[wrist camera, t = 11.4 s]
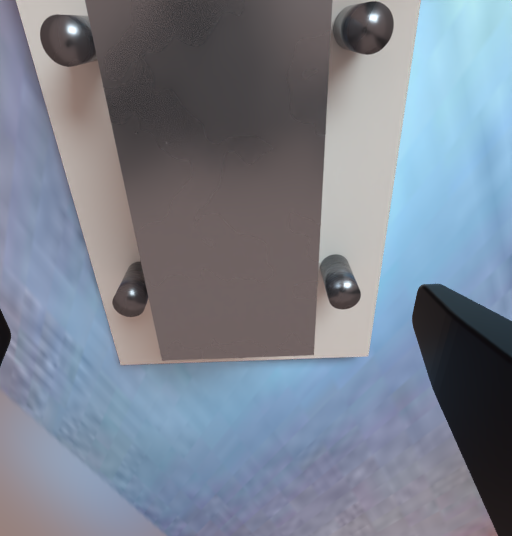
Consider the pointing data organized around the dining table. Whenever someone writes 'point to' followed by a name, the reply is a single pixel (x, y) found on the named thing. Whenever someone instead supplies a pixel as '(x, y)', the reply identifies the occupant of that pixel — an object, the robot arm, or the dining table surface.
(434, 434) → the dining table surface
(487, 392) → the robot arm
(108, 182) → the white peg board
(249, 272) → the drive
